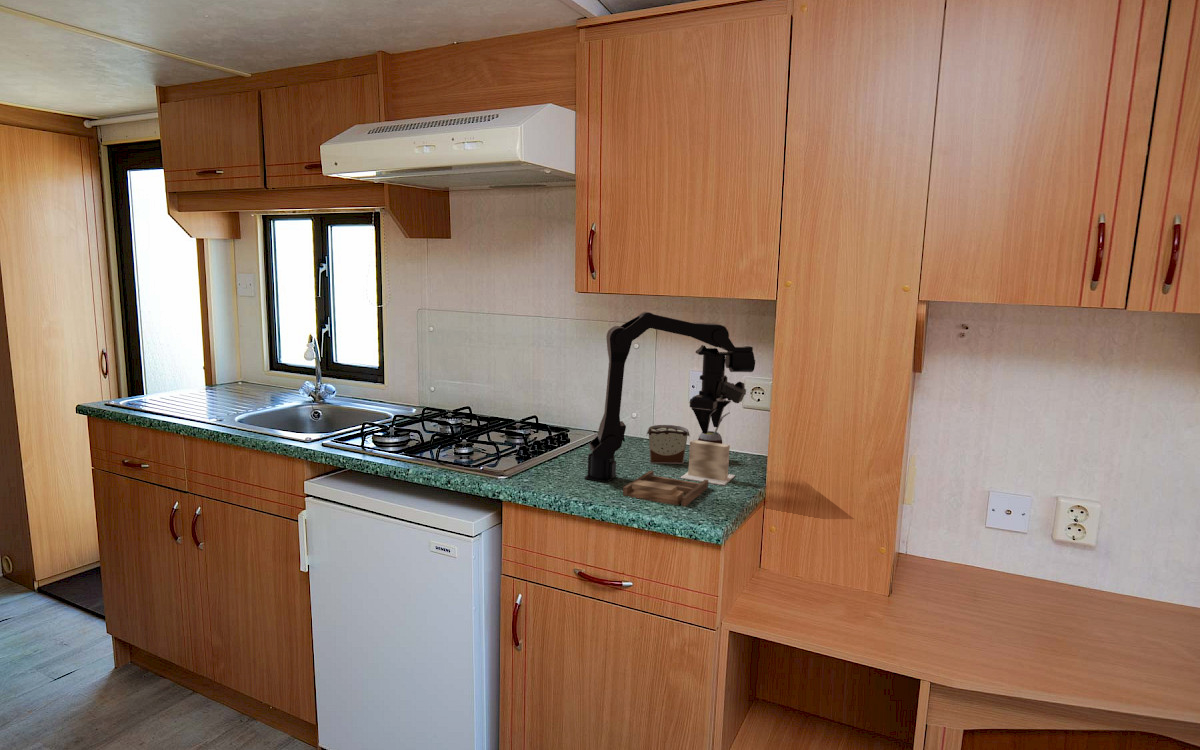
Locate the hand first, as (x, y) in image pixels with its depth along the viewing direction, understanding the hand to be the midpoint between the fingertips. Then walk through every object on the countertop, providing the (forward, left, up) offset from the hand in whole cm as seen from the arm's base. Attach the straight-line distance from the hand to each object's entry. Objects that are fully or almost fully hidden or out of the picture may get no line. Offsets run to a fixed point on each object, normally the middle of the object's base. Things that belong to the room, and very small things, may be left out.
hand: (710, 430), depth 188 cm
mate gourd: (-5, +18, -13) cm, 23 cm away
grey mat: (0, 0, -13) cm, 13 cm away
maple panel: (0, 0, -13) cm, 13 cm away
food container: (-16, +10, -13) cm, 23 cm away
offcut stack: (-5, -24, -13) cm, 28 cm away
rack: (-5, -18, -13) cm, 23 cm away
